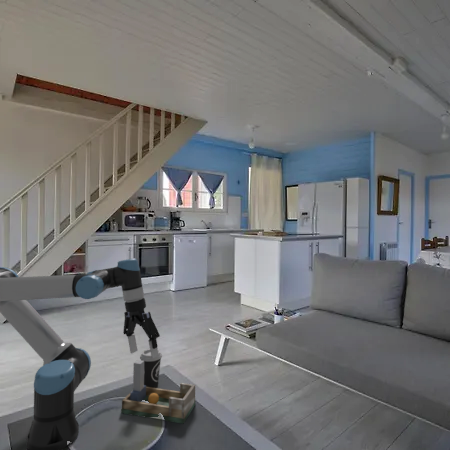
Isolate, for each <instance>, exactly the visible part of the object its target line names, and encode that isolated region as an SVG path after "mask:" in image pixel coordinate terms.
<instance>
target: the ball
mask: <svg viewBox="0 0 450 450" xmlns="http://www.w3.org/2000/svg"><path fill="white" fill-rule="evenodd" d="M158 400H159V396H158V394H156V393H152V394H150V395H149V398H148V401H149V403H151V404H156V403H157V402H158Z"/></svg>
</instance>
